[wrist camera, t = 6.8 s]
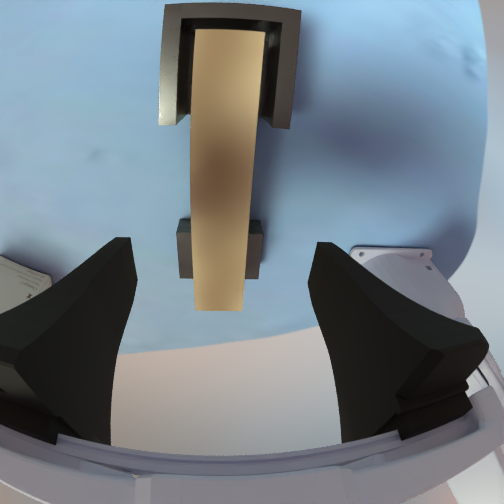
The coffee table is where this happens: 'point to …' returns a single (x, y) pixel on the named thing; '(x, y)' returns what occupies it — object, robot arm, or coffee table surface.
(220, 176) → the rail
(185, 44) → the dark grey open box
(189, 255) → the rest block
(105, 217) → the coffee table surface
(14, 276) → the supplement box
